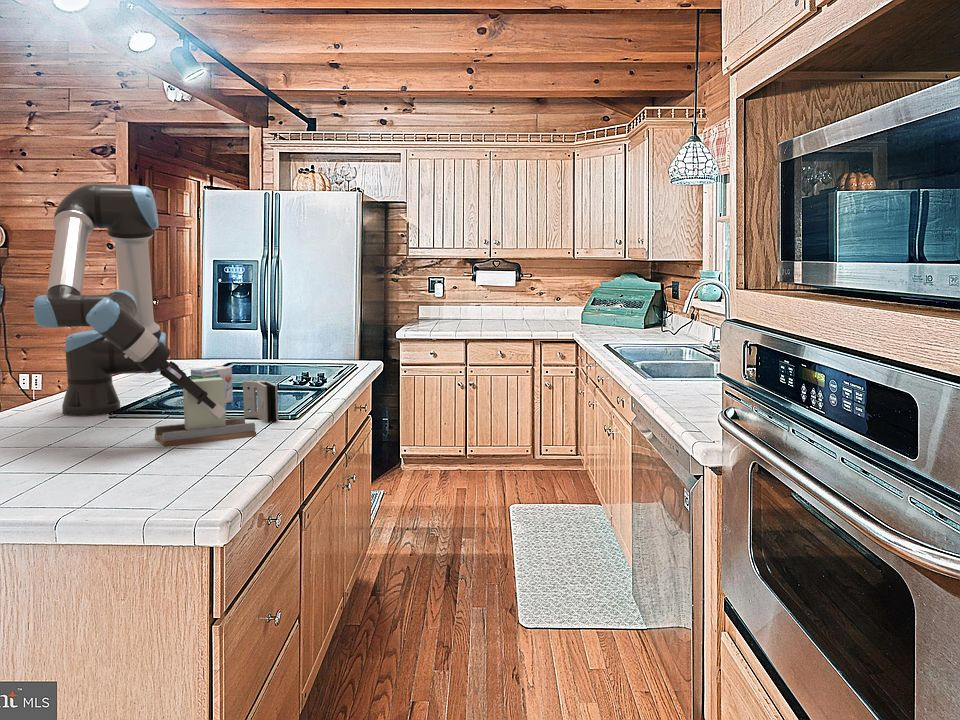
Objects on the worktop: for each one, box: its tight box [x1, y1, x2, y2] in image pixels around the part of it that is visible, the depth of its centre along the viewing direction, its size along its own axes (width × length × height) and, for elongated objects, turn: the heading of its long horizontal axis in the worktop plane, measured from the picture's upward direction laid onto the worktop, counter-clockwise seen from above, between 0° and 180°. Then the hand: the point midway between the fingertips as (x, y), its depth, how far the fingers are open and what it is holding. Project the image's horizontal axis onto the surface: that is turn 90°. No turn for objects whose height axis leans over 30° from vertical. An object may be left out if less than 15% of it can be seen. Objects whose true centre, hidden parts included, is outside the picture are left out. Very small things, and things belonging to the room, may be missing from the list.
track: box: [154, 416, 257, 448], centre depth 209 cm, size 11×22×3 cm, turn 123°
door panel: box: [182, 377, 227, 430], centre depth 208 cm, size 4×9×12 cm, turn 123°
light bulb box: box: [190, 365, 234, 404], centre depth 254 cm, size 11×7×11 cm, turn 147°
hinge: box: [242, 380, 279, 424], centre depth 232 cm, size 14×5×10 cm, turn 43°
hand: (220, 412), depth 210 cm, fingers closed on door panel, 4 cm apart
